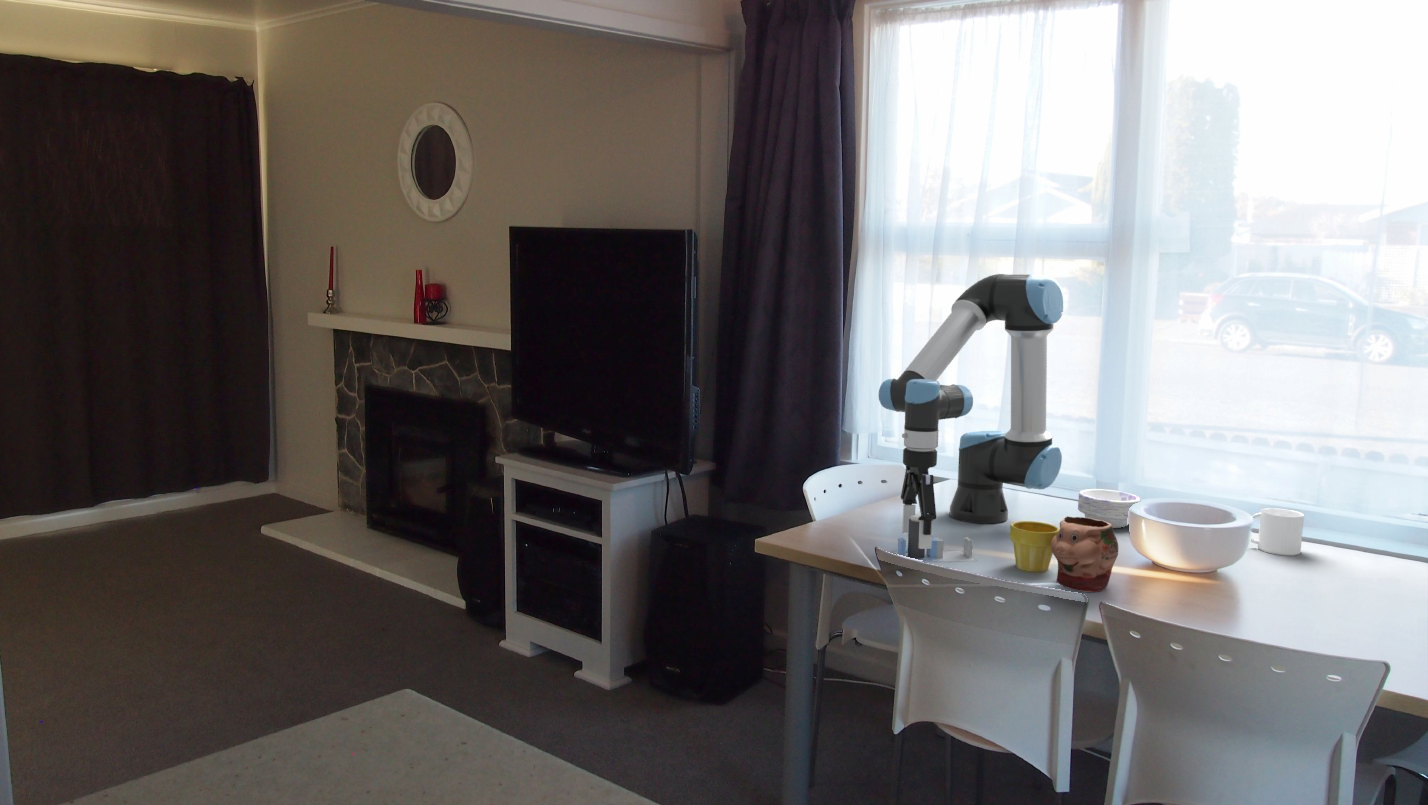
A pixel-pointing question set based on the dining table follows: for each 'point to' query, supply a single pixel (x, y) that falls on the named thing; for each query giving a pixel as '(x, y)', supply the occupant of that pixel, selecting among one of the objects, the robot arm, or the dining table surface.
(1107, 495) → the paper bowls
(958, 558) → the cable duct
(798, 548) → the dining table surface
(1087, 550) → the decorative planter
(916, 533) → the dark gray cylinder
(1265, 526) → the mug
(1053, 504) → the dining table surface
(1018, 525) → the plant pot
